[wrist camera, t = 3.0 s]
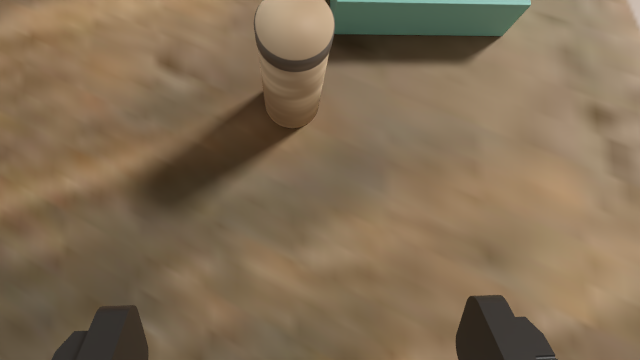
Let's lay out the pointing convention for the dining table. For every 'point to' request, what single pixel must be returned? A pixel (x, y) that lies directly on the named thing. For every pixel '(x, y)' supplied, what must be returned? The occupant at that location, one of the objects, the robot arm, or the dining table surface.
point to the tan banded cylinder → (293, 57)
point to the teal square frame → (426, 16)
